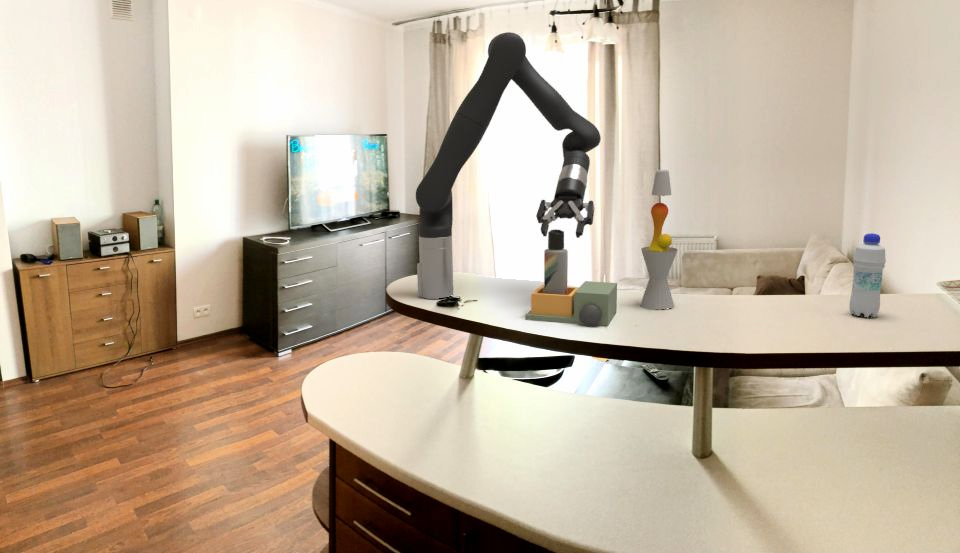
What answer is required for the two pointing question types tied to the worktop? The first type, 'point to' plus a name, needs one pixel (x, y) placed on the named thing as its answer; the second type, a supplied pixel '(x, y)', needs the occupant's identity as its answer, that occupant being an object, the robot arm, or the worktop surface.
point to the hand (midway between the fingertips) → (560, 235)
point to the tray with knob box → (576, 304)
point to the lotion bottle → (555, 264)
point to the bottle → (867, 276)
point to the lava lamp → (659, 251)
